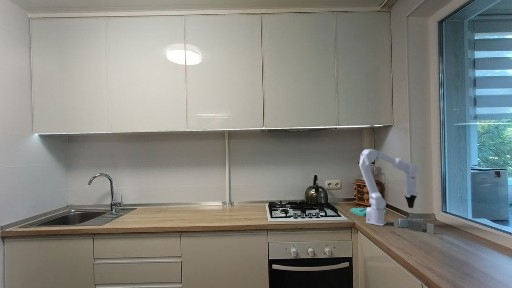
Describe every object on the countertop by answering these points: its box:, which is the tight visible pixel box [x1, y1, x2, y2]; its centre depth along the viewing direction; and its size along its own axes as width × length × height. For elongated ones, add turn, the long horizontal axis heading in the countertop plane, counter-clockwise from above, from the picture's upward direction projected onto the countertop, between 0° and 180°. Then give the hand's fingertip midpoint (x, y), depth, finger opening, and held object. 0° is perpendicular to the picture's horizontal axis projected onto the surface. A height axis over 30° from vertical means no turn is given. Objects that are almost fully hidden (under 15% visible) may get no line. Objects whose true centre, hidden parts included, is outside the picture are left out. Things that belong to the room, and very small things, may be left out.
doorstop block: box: [408, 218, 424, 233], centre depth 147 cm, size 6×5×5 cm
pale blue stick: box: [400, 218, 424, 228], centre depth 151 cm, size 12×1×4 cm, turn 88°
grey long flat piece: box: [393, 217, 435, 234], centre depth 147 cm, size 19×1×5 cm, turn 48°
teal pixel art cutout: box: [349, 207, 387, 217], centre depth 185 cm, size 20×2×20 cm
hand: (410, 207), depth 159 cm, fingers closed
